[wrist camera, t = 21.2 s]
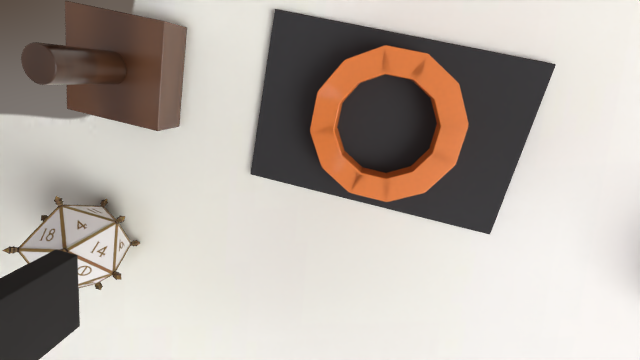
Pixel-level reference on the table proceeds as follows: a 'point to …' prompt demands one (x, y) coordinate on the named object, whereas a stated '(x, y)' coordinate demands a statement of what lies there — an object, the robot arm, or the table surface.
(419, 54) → the ring
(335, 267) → the table surface
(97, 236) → the game die
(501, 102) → the mat
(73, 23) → the post
